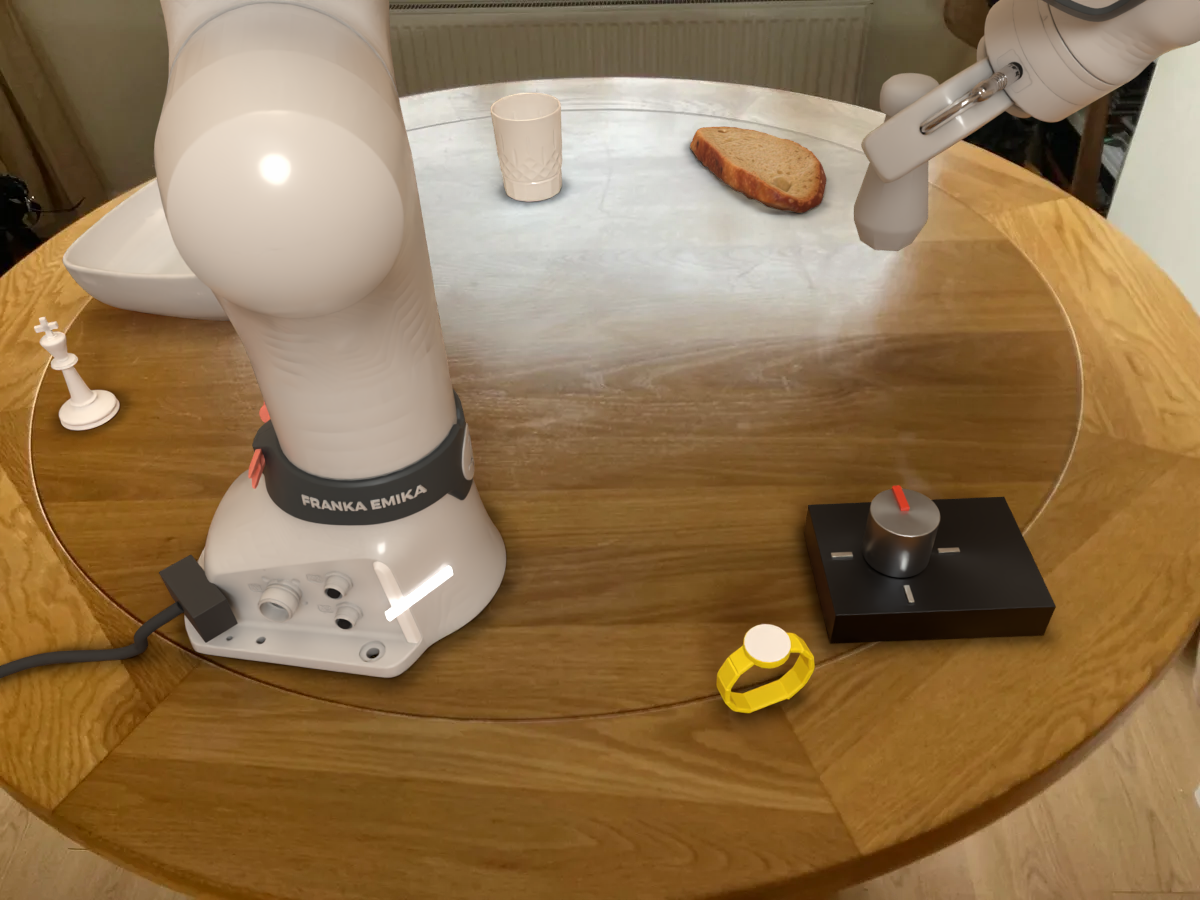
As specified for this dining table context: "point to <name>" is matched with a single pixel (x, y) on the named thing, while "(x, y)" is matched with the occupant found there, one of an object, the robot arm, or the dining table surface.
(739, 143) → the bread slice
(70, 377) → the chess piece
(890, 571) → the knob
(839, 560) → the black dial panel
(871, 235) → the salt shaker
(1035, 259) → the dining table surface
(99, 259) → the bowl
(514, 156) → the white cup
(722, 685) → the watch
